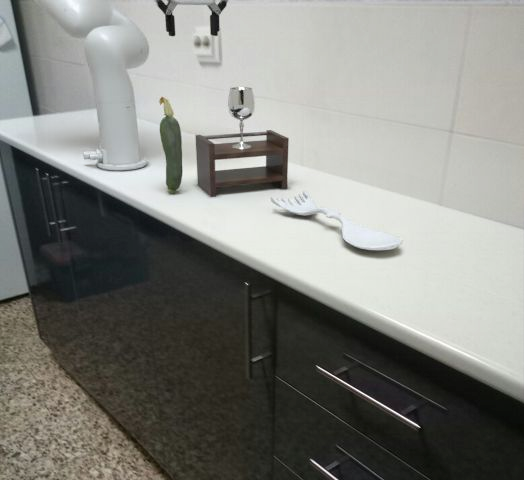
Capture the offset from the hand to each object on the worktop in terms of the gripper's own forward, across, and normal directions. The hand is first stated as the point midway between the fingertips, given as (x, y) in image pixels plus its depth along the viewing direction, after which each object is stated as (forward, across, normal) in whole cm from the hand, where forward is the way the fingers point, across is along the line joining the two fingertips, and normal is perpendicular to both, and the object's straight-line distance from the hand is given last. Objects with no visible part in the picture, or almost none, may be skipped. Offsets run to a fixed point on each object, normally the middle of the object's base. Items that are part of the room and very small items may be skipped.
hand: (193, 35), depth 128 cm
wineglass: (+22, -6, +14) cm, 26 cm away
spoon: (+31, -12, +48) cm, 58 cm away
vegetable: (+31, +10, +14) cm, 35 cm away
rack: (+30, -6, +14) cm, 34 cm away
